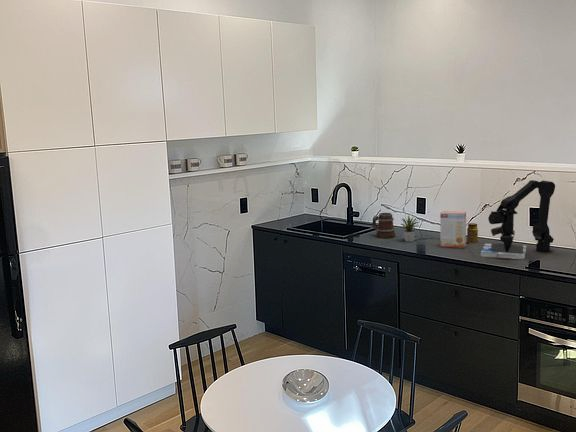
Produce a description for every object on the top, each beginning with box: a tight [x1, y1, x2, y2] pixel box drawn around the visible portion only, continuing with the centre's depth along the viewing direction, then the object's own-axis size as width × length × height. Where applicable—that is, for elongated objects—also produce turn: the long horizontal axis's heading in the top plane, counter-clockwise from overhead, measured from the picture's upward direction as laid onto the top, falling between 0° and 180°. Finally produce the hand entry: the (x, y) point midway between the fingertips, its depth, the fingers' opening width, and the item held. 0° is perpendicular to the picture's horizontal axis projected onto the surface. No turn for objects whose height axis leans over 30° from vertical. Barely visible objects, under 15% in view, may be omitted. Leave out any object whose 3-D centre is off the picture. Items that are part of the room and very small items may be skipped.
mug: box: [371, 212, 396, 239], centre depth 385 cm, size 16×12×15 cm
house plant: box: [400, 214, 420, 243], centre depth 368 cm, size 14×14×16 cm
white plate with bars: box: [480, 243, 527, 260], centre depth 328 cm, size 22×22×4 cm
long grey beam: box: [490, 242, 524, 254], centre depth 322 cm, size 16×4×4 cm, turn 66°
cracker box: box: [439, 210, 467, 249], centre depth 349 cm, size 14×6×21 cm, turn 65°
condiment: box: [466, 222, 479, 246], centre depth 355 cm, size 7×8×12 cm
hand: (507, 250), depth 322 cm, fingers closed on long grey beam, 4 cm apart
